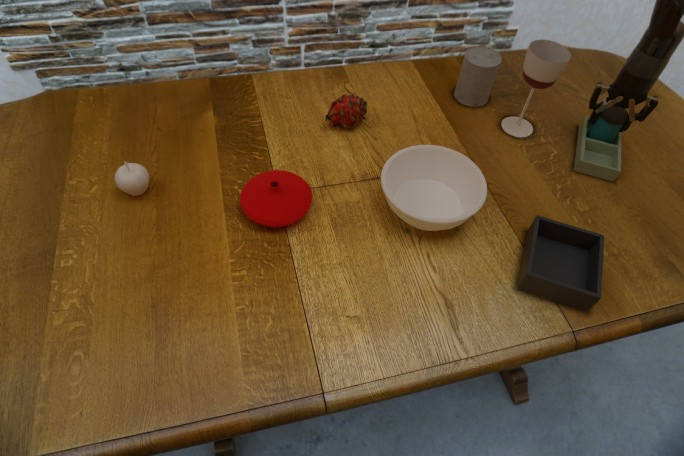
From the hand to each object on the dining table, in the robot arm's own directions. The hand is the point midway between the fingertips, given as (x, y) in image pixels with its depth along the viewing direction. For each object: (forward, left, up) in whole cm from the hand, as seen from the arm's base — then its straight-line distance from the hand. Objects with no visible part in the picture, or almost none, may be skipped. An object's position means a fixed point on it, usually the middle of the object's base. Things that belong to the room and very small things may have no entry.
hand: (606, 126), depth 115 cm
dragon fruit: (+62, +19, -5) cm, 65 cm away
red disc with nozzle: (+66, +51, -5) cm, 84 cm away
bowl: (+35, +38, -5) cm, 52 cm away
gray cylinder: (+34, -6, -5) cm, 35 cm away
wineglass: (+20, +2, -5) cm, 21 cm away
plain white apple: (+97, +59, -5) cm, 114 cm away
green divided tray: (0, +4, -5) cm, 7 cm away
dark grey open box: (+6, +44, -5) cm, 45 cm away
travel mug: (0, 0, -4) cm, 4 cm away
